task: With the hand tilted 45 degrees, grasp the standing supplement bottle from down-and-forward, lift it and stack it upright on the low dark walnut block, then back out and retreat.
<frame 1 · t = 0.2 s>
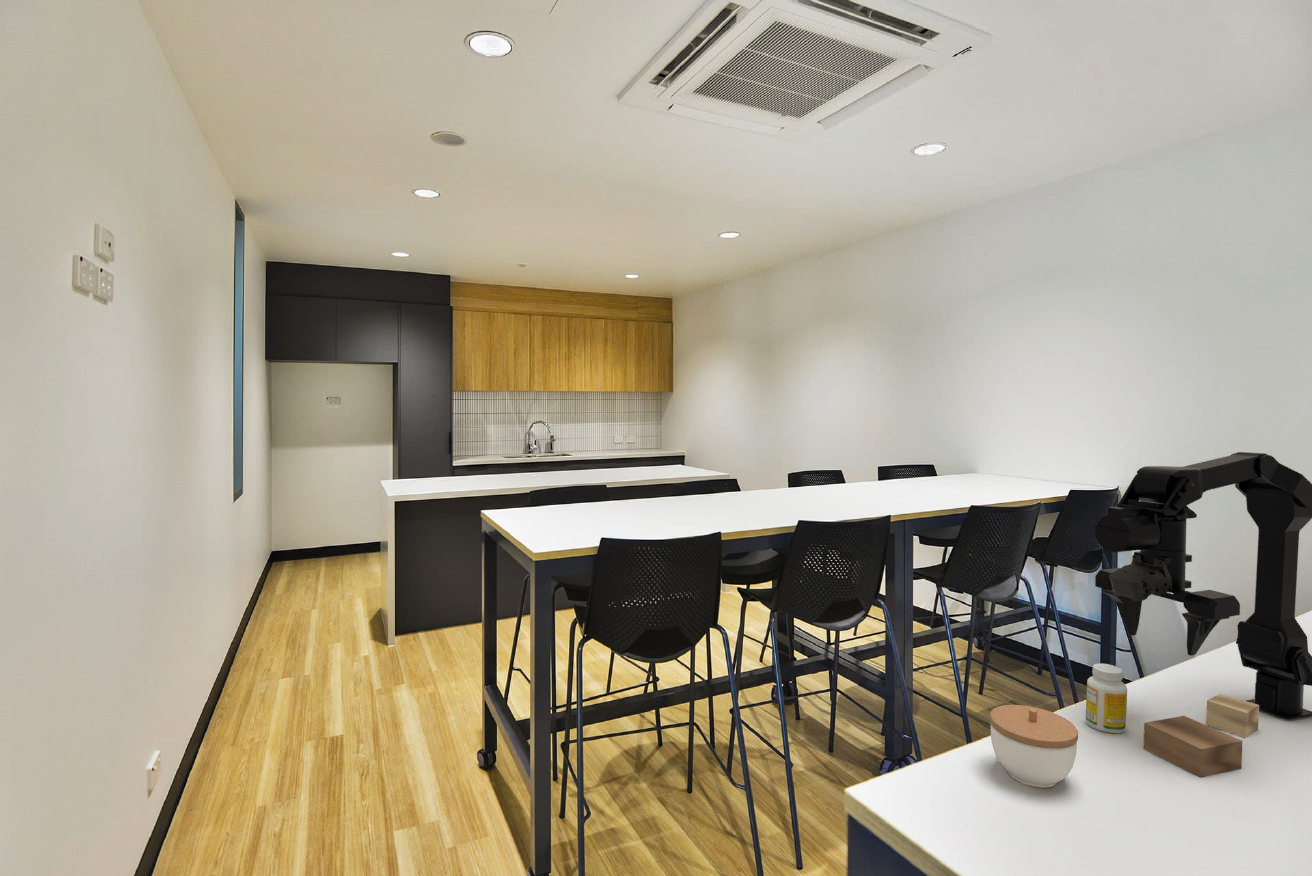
hand: (1160, 644, 104), 14 cm above the table, tool pointing down, fingers open, 9 cm apart
lidded jar: (1031, 776, 93), on the table
walnut block: (1191, 758, 97), on the table
supplement bottle: (1105, 727, 107), on the table
oak block: (1231, 727, 106), on the table
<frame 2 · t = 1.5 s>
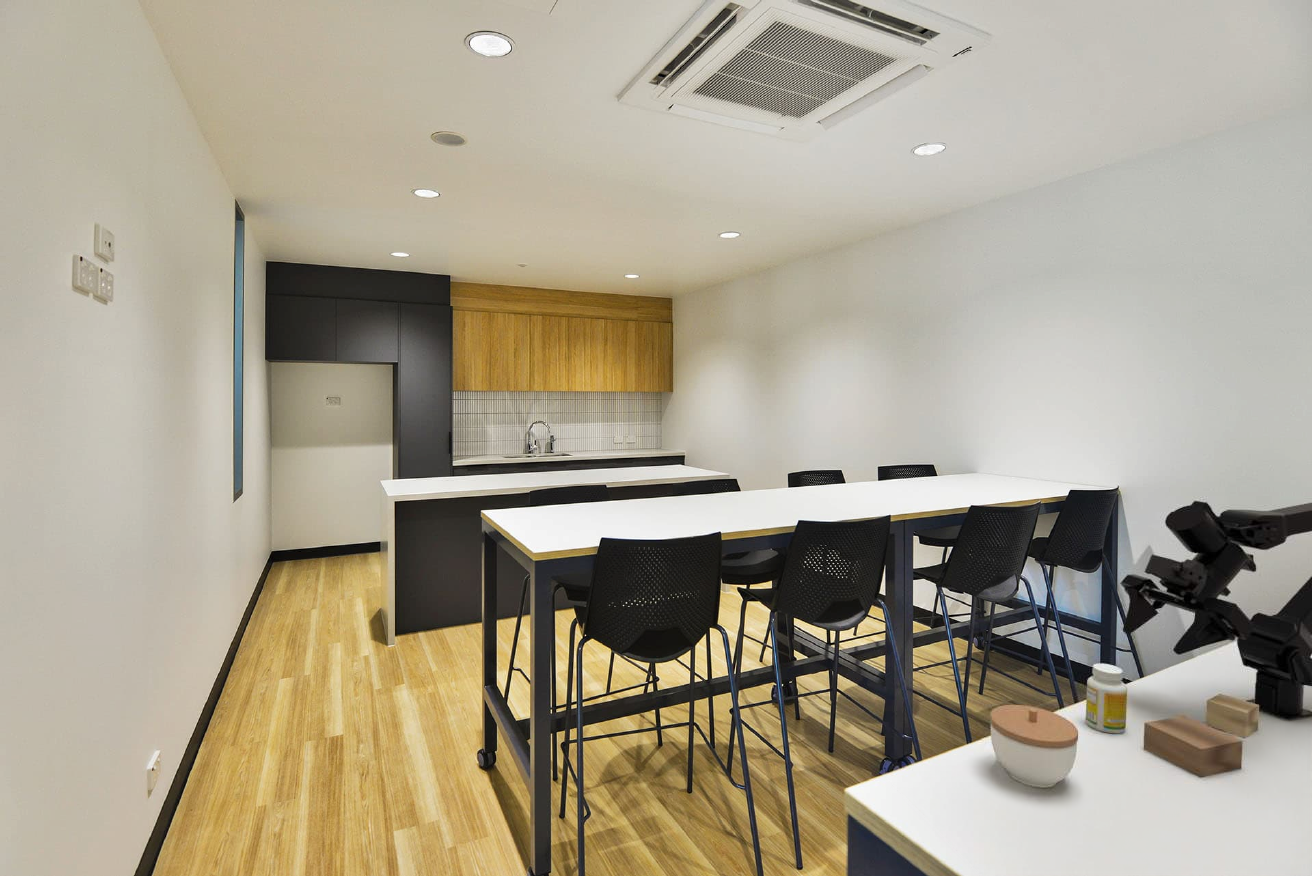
hand: (1149, 642, 107), 13 cm above the table, tool tilted 45°, fingers open, 9 cm apart
nothing on the table moved.
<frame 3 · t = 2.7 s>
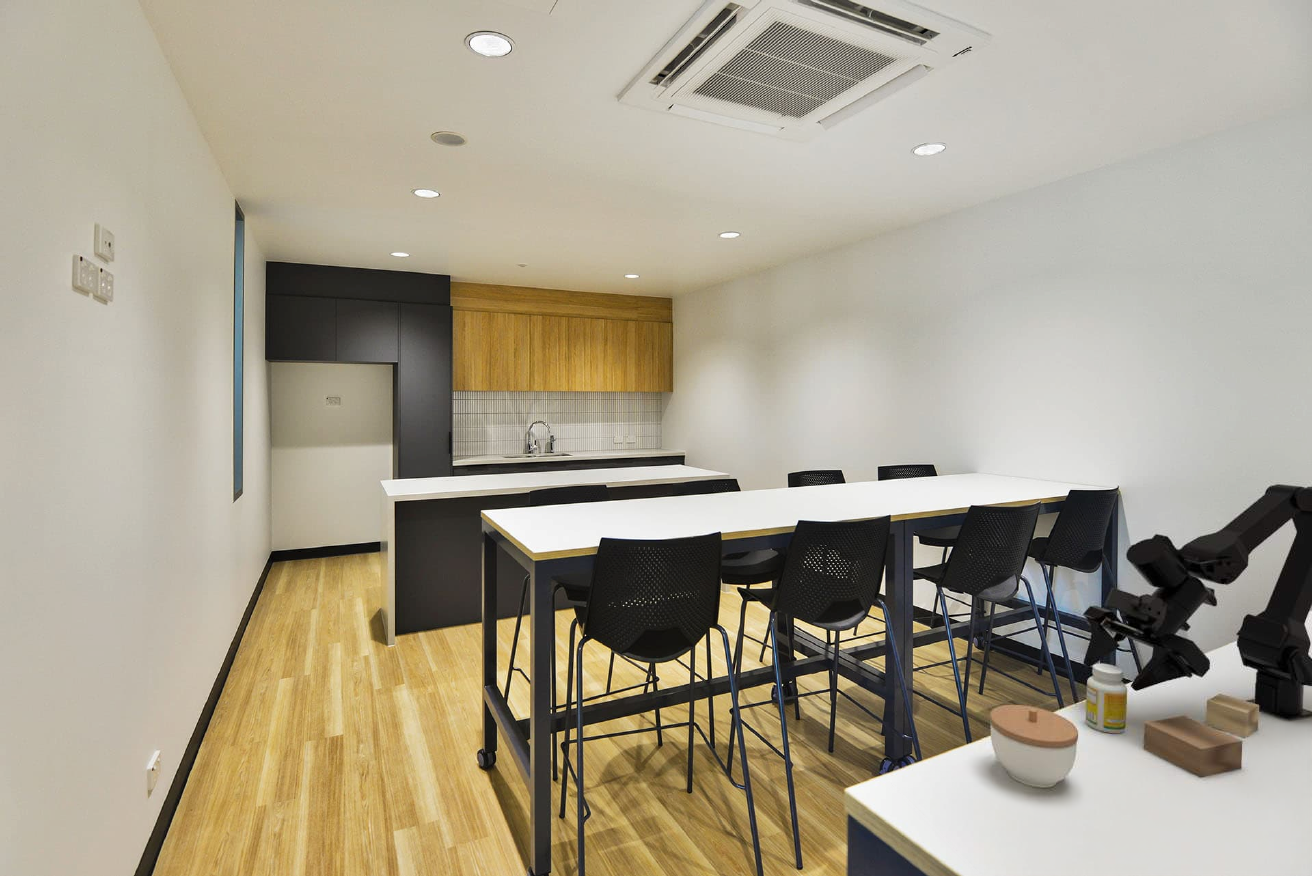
hand: (1108, 676, 106), 8 cm above the table, tool tilted 45°, fingers open, 9 cm apart
nothing on the table moved.
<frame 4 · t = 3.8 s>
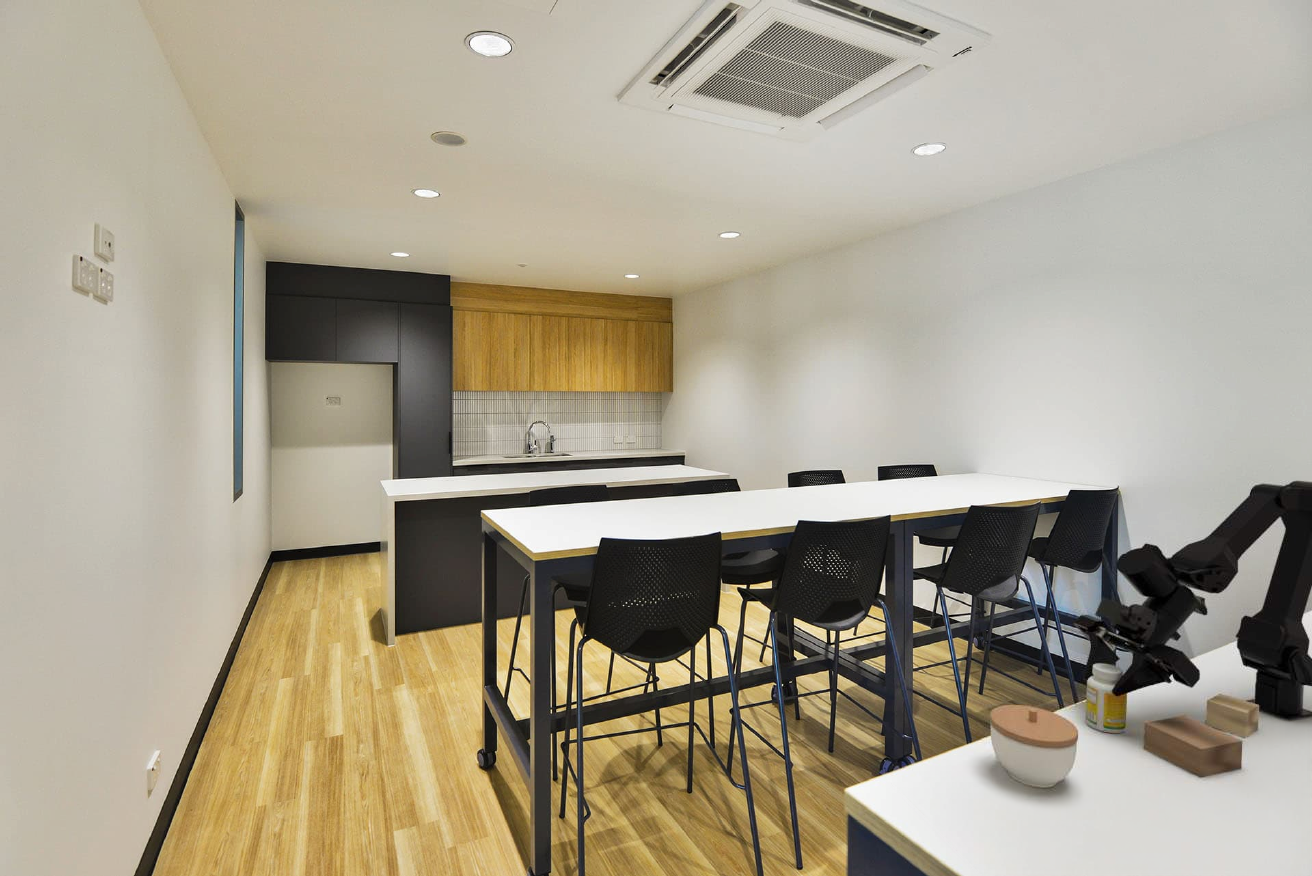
hand: (1099, 686, 106), 7 cm above the table, tool tilted 45°, fingers closed on supplement bottle, 5 cm apart
supplement bottle: (1105, 727, 107), on the table, touching gripper
everything else where it was.
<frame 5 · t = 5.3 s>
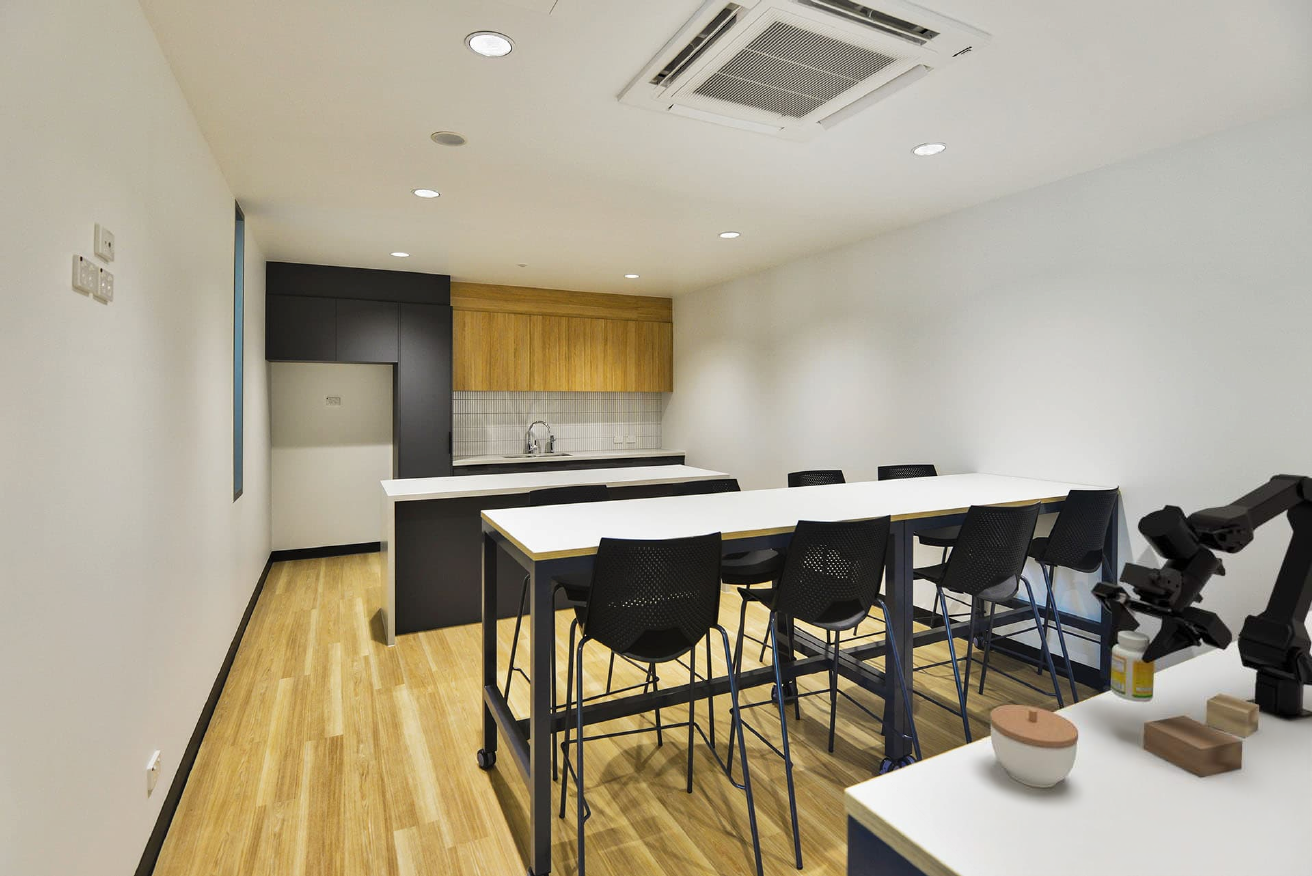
hand: (1126, 654, 102), 13 cm above the table, tool tilted 45°, fingers closed on supplement bottle, 5 cm apart
supplement bottle: (1131, 696, 103), point 6 cm above the table, touching gripper
everything else where it was.
when the fingers open (11 cm above the table, at t = 6.7 s): supplement bottle stays where it is, resting on walnut block.
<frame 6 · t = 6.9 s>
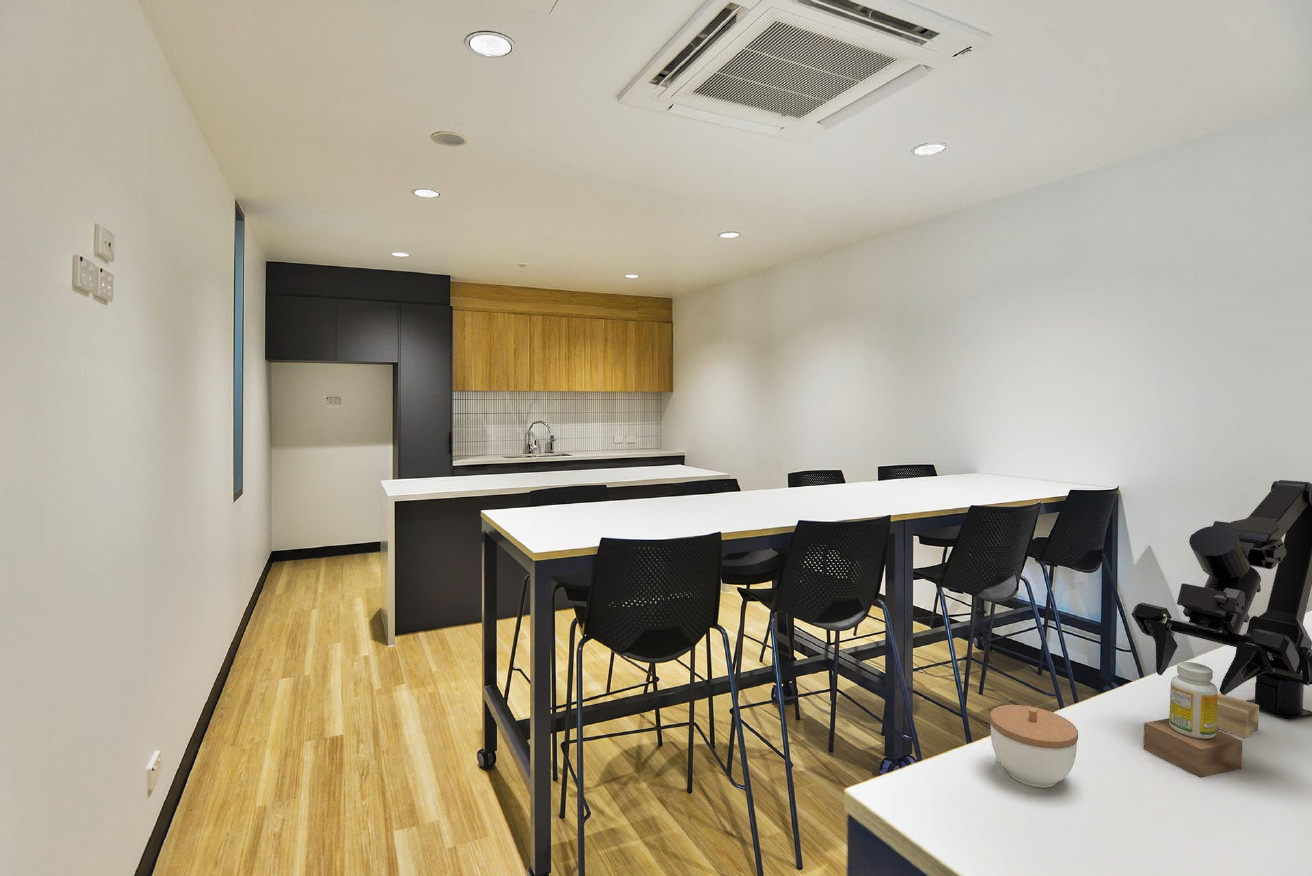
hand: (1189, 682, 96), 12 cm above the table, tool tilted 45°, fingers open, 7 cm apart
supplement bottle: (1192, 732, 97), point 4 cm above the table, touching walnut block
everything else where it was.
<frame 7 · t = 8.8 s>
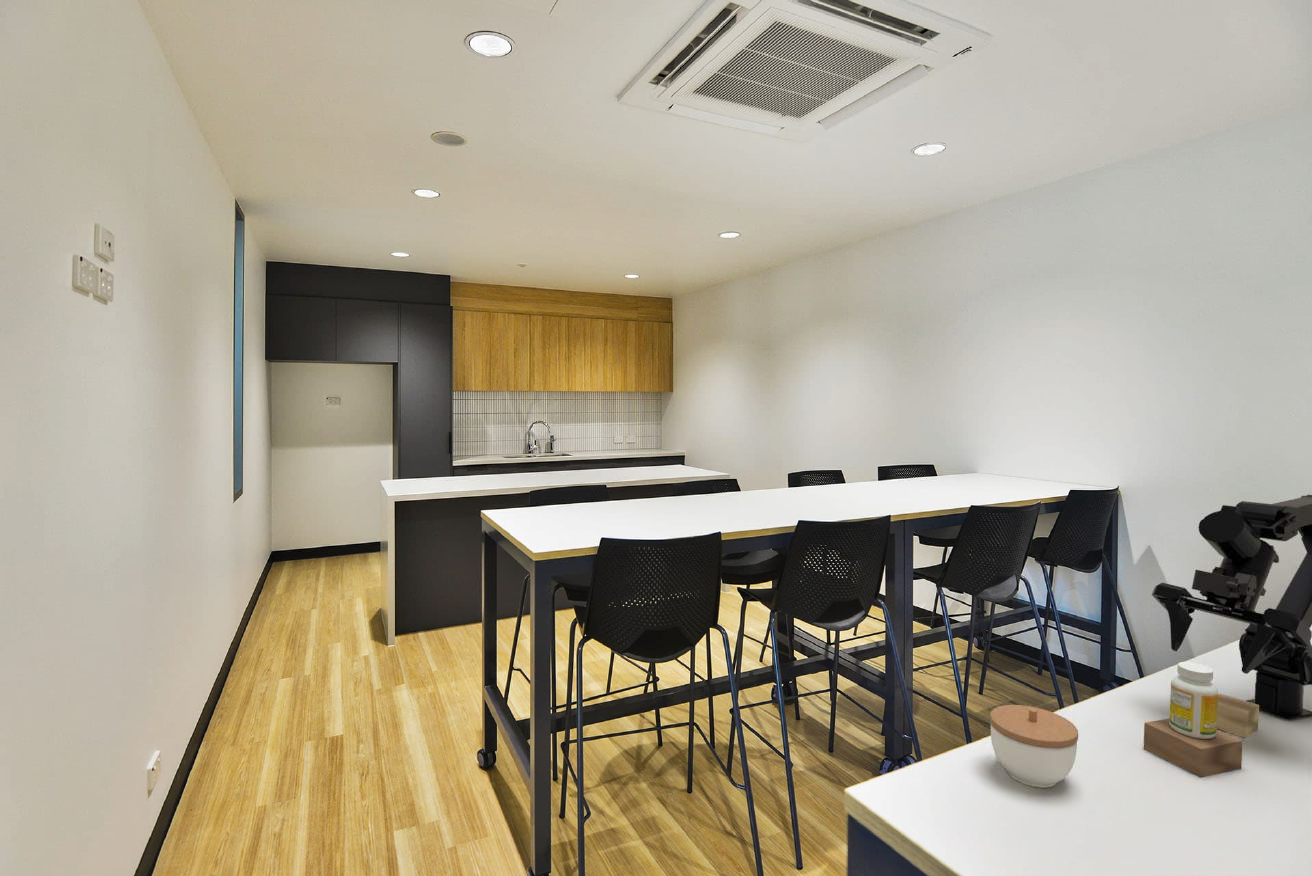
hand: (1207, 660, 103), 12 cm above the table, tool tilted 35°, fingers open, 9 cm apart
nothing on the table moved.
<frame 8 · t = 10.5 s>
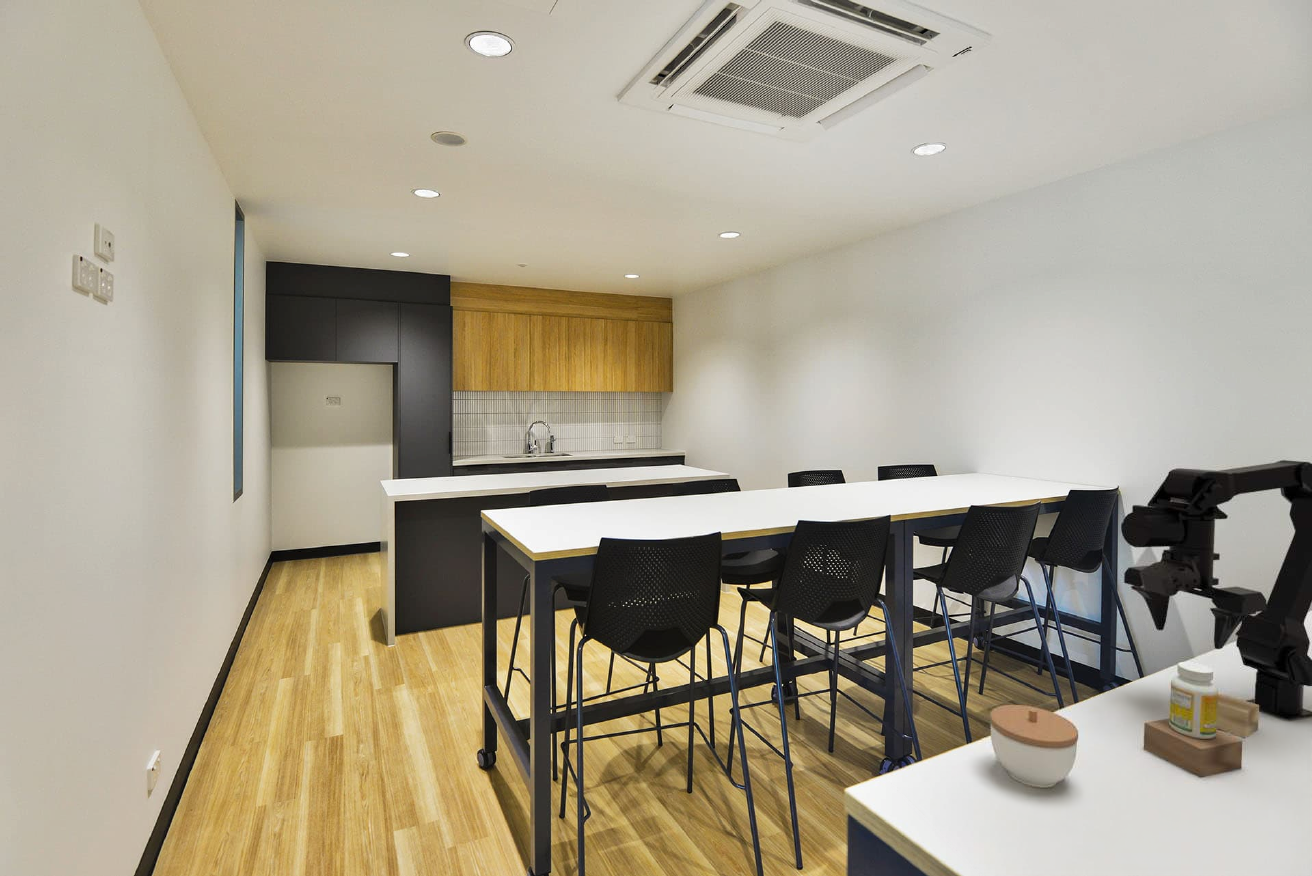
hand: (1188, 638, 109), 13 cm above the table, tool pointing down, fingers open, 9 cm apart
nothing on the table moved.
at the end: supplement bottle inside the target area on the walnut block (0.2 cm from its centre), point 3.8 cm above the walnut block's base; supplement bottle tilted 0°; the gripper is holding nothing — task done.
